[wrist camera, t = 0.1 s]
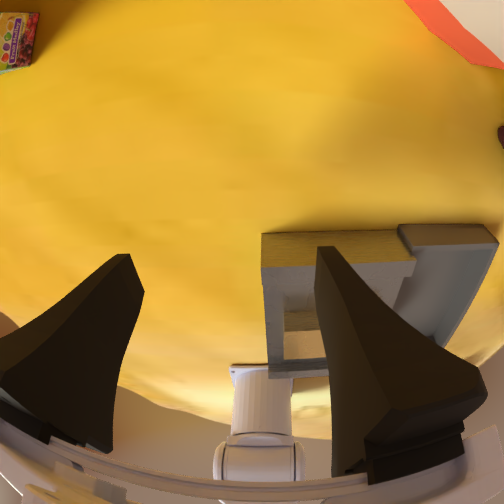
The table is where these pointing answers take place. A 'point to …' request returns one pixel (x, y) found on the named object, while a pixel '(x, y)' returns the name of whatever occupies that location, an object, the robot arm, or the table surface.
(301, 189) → the table surface
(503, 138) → the dark red rounded piece
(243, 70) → the table surface
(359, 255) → the shallow gray open bin
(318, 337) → the tan wooden block
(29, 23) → the snack box
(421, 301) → the tray
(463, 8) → the french fries container
